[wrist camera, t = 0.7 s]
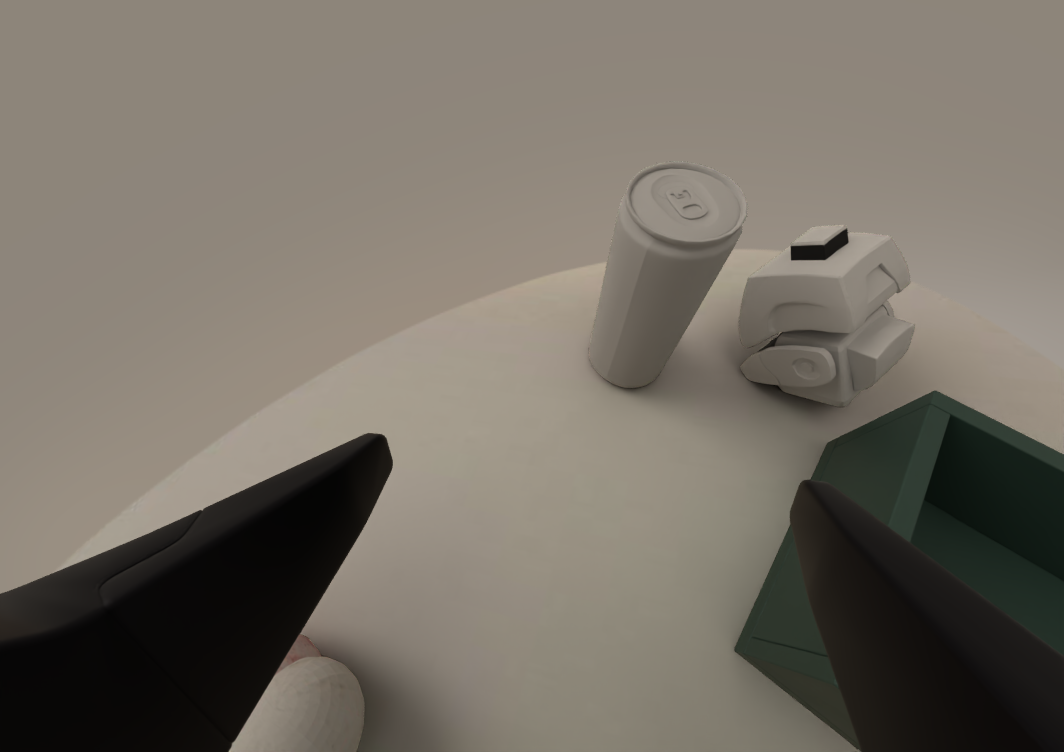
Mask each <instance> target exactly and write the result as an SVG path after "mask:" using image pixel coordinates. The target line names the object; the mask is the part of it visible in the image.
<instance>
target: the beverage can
mask: <svg viewBox="0 0 1064 752" xmlns="http://www.w3.org/2000/svg"><path fill="white" fill-rule="evenodd" d="M747 210H748V204H747V201H746V198H745V195H744V193H743V192H742V190H741V189H740V188H739V186H738V185H737V184H736V183H735V182H734V181H732V180H731V179H730V178H729V177H728V176H726V175H724V174H723V173H721V172H719V171H717V170H715V169H712V168H710V167H707V166H704V165H701V164H696V163H690V162H665V163H659V164H655V165H653V166H650V167H647V168H645V169H643V170H642V171H640V172H639V173H637V174H636V175H635V176H634V177H633V179H632V180H631V181H630V183H629V184H628V187H627V190H626V193H625V195H624V196H623V198H622V200H621V204H620V207H619V210H618V214H617V218H616V223H615V228H614V233H613V237H612V242H611V247H610V252H609V256H608V261H607V265H606V270H605V275H604V279H603V284H602V289H601V293H600V298H599V303H598V308H597V312H596V317H595V322H594V326H593V331H592V336H591V340H590V345H589V358H590V361H591V364H592V366H593V367H594V369H595V370H596V371H597V373H598V374H600V375H601V376H602V377H603V378H604V379H606V380H607V381H609V382H611V383H613V384H614V385H617V386H621V387H624V388H637V387H641V386H645V385H647V384H649V383H651V382H652V381H653V380H655V379H656V378H657V377H658V376H659V374H660V372H661V371H662V369H663V367H664V366H665V364H666V362H667V361H668V359H669V357H670V356H671V354H672V352H673V351H674V349H675V347H676V346H677V344H678V342H679V341H680V339H681V337H682V335H683V334H684V332H685V330H686V329H687V327H688V325H689V324H690V322H691V320H692V318H693V317H694V315H695V313H696V312H697V310H698V308H699V306H700V305H701V303H702V301H703V299H704V298H705V296H706V294H707V293H708V291H709V289H710V287H711V286H712V284H713V282H714V281H715V279H716V277H717V275H718V274H719V272H720V270H721V269H722V267H723V265H724V263H725V262H726V260H727V258H728V256H729V255H730V253H731V251H732V250H733V248H734V246H735V244H736V242H737V241H738V239H739V237H740V235H741V233H742V224H743V223H744V221H745V219H746V217H747Z"/></svg>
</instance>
